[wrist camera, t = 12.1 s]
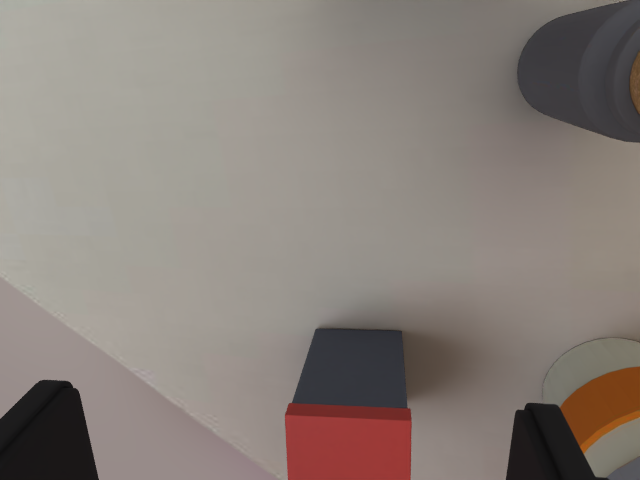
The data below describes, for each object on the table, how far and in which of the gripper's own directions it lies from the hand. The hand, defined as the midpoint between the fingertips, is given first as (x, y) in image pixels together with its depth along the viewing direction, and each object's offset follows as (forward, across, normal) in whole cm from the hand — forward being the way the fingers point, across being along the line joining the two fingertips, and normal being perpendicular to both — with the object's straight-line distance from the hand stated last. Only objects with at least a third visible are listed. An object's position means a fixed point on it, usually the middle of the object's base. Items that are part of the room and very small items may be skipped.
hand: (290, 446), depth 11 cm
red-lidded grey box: (+19, -1, +11) cm, 22 cm away
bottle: (+25, -13, -7) cm, 29 cm away
